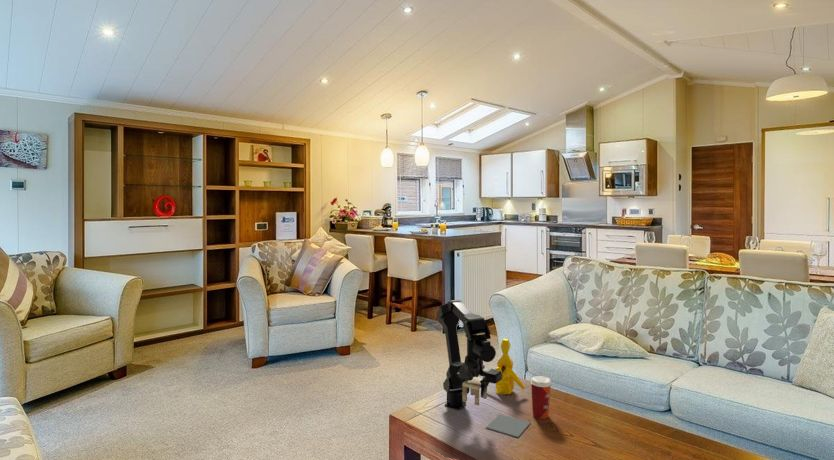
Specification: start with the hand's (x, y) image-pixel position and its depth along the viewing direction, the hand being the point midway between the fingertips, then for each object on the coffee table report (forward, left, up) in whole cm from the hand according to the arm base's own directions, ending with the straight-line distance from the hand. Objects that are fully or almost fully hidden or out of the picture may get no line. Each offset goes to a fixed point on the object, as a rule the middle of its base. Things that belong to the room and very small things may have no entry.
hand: (474, 395), depth 163 cm
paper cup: (+17, +21, -12) cm, 29 cm away
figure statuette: (-3, +33, -12) cm, 35 cm away
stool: (0, 0, -2) cm, 2 cm away
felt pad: (+10, +7, -12) cm, 17 cm away
